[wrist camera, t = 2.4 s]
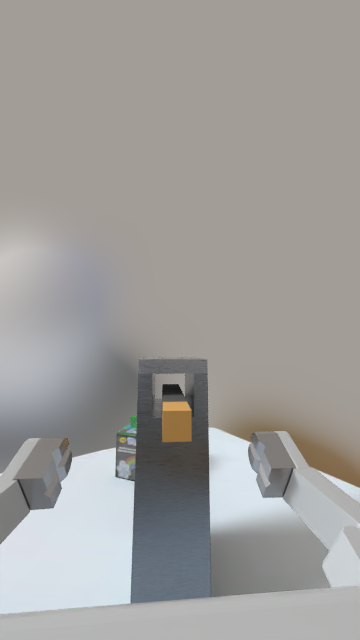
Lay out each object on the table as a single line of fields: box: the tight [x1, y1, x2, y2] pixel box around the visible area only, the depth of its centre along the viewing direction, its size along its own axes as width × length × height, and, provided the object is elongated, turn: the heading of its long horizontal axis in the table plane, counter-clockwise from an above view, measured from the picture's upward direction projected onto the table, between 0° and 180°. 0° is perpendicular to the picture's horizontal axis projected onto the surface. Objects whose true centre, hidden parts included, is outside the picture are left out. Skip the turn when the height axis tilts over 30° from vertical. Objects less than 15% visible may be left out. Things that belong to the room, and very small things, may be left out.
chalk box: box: [116, 416, 137, 481], centre depth 59 cm, size 9×9×15 cm
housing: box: [131, 357, 211, 604], centre depth 34 cm, size 10×12×32 cm
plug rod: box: [162, 384, 192, 442], centre depth 30 cm, size 3×18×3 cm, turn 5°
